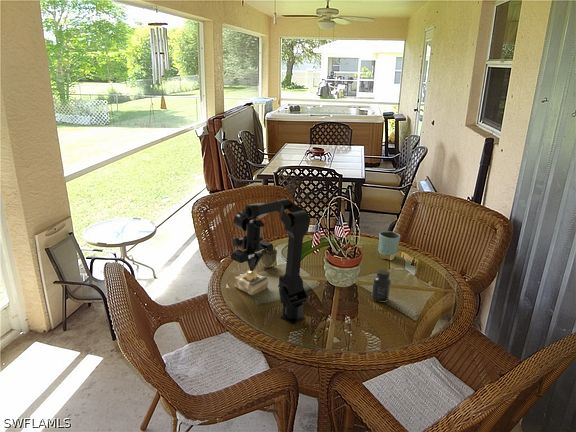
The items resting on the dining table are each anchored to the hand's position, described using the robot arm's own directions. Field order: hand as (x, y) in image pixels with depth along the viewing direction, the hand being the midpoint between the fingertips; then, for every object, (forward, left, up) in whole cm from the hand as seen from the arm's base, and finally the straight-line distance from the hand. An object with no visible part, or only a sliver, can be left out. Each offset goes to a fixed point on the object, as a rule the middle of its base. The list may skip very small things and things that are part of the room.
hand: (251, 270), depth 168 cm
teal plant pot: (-24, -72, -8) cm, 76 cm away
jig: (0, 0, -7) cm, 7 cm away
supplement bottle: (-42, -31, -8) cm, 53 cm away
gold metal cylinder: (0, 0, -8) cm, 8 cm away
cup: (+8, -19, -8) cm, 22 cm away
